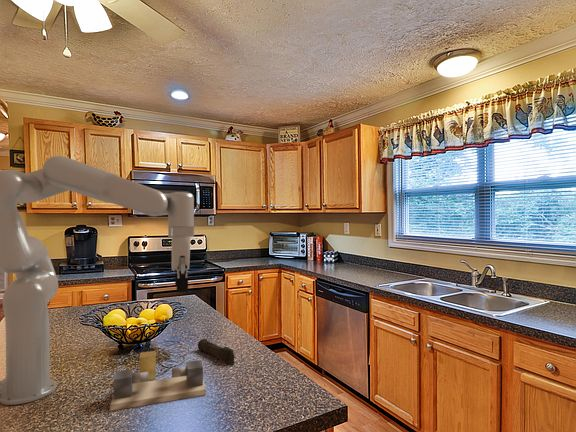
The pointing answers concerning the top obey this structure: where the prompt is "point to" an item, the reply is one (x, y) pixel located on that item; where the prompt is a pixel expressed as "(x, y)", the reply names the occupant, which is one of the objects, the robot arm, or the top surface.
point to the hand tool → (217, 351)
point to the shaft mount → (157, 386)
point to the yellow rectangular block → (148, 364)
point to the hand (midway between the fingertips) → (181, 288)
